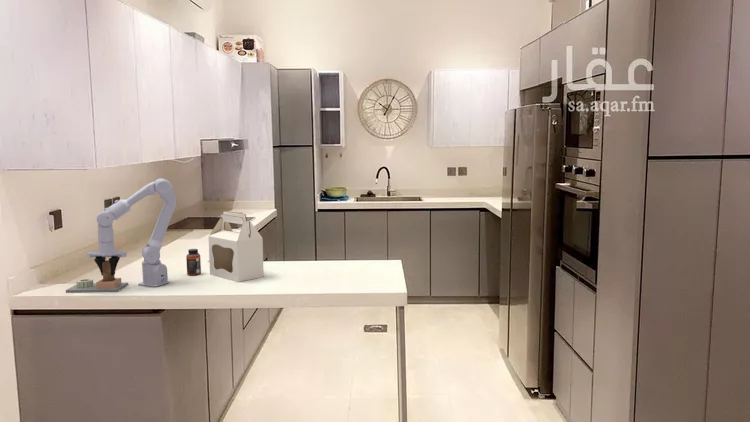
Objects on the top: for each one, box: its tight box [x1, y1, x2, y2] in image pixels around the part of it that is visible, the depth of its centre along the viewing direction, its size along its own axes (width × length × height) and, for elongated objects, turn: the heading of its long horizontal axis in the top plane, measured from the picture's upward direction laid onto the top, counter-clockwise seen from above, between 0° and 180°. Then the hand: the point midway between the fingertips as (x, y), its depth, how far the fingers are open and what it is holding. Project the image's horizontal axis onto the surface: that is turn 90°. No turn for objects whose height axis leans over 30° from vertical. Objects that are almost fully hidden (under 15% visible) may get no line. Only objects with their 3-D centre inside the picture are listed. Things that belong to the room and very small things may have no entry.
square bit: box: [102, 260, 116, 281], centre depth 229 cm, size 3×3×8 cm
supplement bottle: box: [185, 248, 202, 277], centre depth 253 cm, size 6×6×11 cm
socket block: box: [65, 277, 129, 294], centre depth 229 cm, size 20×11×4 cm, turn 92°
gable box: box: [208, 210, 265, 283], centre depth 249 cm, size 22×13×28 cm, turn 48°
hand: (108, 274), depth 229 cm, fingers closed on square bit, 3 cm apart
